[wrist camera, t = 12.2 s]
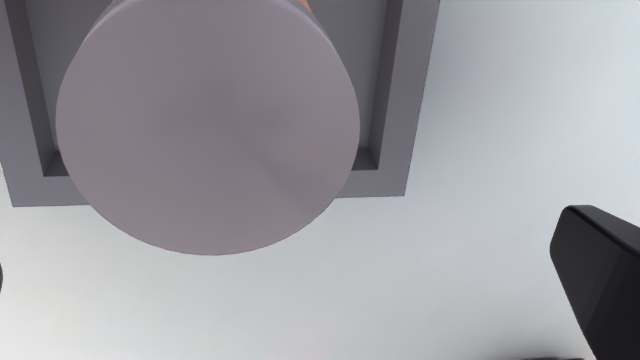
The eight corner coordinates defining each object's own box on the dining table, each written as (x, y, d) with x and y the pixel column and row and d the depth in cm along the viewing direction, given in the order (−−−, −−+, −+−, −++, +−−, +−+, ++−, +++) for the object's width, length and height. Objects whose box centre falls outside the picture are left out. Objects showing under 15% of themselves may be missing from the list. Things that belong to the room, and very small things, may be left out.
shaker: (292, 69, 20) (345, 249, 12) (139, 67, 19) (81, 261, 11) (300, -93, 17) (376, -4, 9) (122, -103, 16) (25, -17, 8)
